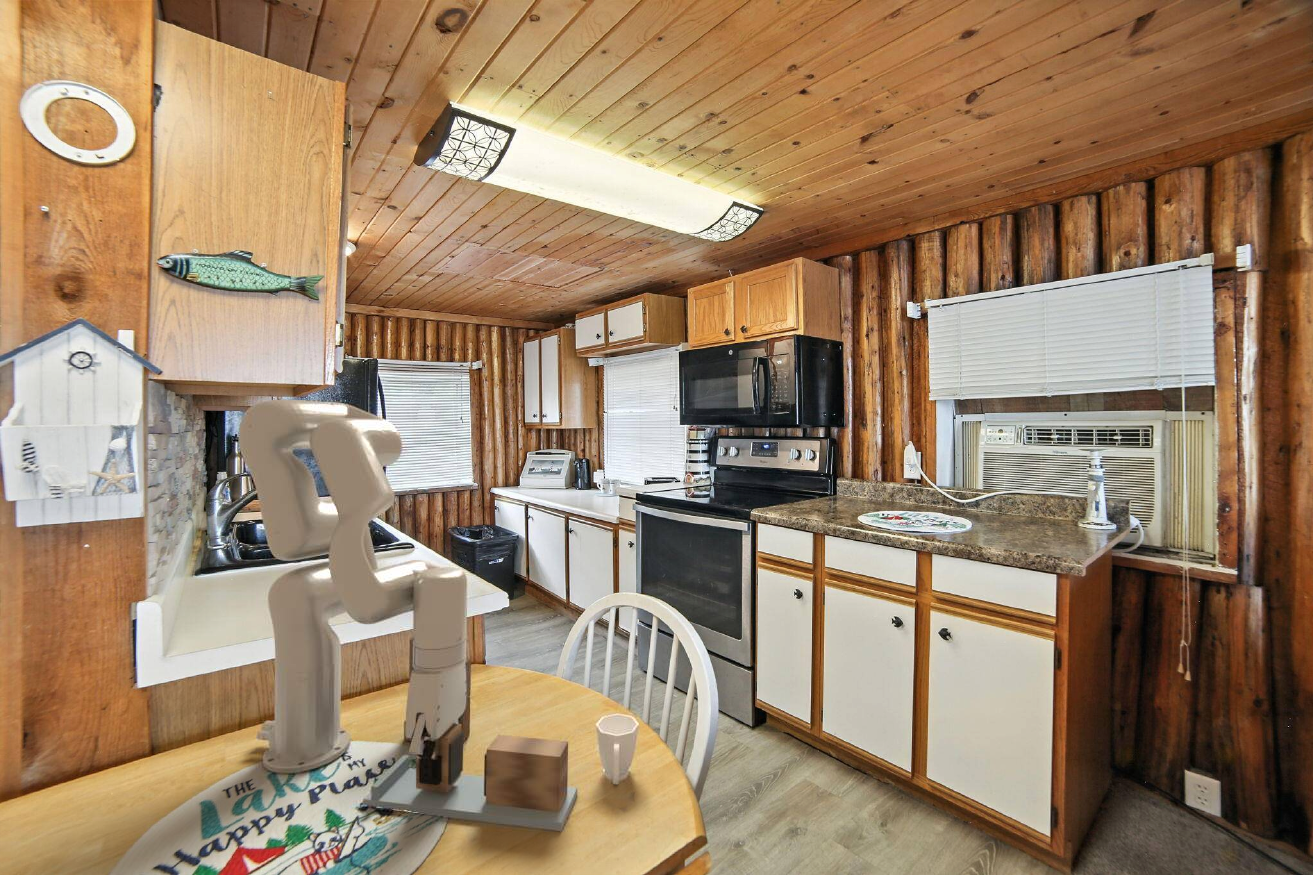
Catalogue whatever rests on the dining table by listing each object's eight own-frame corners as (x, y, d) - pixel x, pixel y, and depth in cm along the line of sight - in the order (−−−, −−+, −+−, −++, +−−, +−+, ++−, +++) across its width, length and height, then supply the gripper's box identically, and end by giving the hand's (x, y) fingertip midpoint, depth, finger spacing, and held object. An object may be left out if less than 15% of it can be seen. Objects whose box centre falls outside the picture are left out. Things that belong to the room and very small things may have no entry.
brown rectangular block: (415, 788, 84) (416, 734, 84) (430, 772, 88) (431, 721, 88) (450, 792, 83) (450, 738, 83) (463, 775, 87) (463, 724, 87)
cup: (637, 760, 96) (638, 712, 96) (638, 798, 86) (639, 745, 86) (596, 760, 96) (597, 712, 96) (592, 799, 86) (593, 746, 86)
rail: (363, 806, 83) (363, 785, 83) (395, 774, 91) (395, 754, 91) (561, 831, 79) (561, 808, 79) (577, 794, 87) (577, 773, 87)
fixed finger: (483, 803, 82) (484, 748, 82) (494, 786, 86) (495, 734, 86) (558, 812, 81) (559, 756, 81) (567, 794, 85) (568, 741, 85)
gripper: (444, 631, 94) (443, 740, 94) (382, 674, 77) (381, 807, 78) (487, 634, 93) (486, 745, 93) (433, 678, 76) (432, 813, 77)
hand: (438, 771), depth 85 cm, fingers closed on brown rectangular block, 4 cm apart
